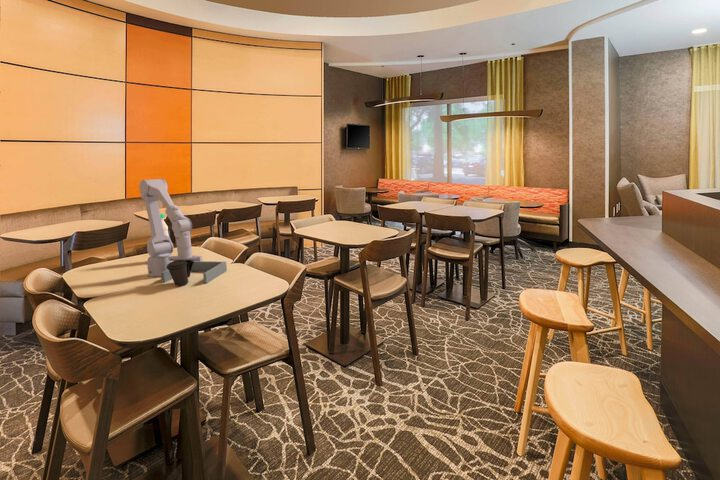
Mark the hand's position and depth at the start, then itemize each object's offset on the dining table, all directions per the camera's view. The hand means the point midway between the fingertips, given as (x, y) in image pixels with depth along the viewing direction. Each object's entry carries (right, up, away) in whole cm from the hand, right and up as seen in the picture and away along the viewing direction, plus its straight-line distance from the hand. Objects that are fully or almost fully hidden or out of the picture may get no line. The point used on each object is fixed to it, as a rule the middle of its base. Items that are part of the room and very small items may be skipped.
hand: (187, 276), depth 178 cm
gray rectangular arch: (+1, -1, +7) cm, 7 cm away
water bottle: (-28, +5, +37) cm, 47 cm away
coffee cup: (-1, -2, -4) cm, 5 cm away
